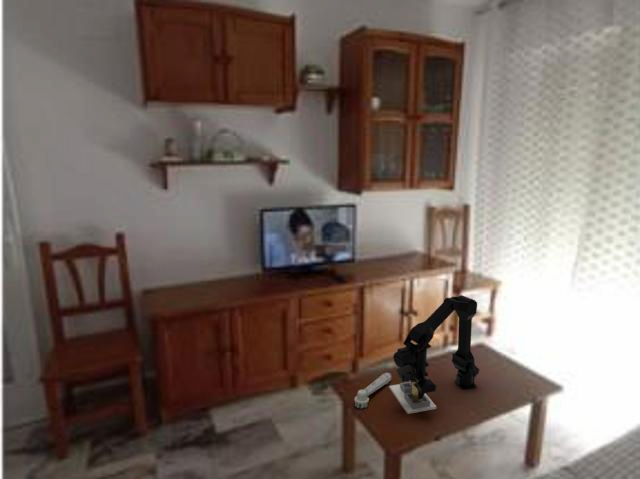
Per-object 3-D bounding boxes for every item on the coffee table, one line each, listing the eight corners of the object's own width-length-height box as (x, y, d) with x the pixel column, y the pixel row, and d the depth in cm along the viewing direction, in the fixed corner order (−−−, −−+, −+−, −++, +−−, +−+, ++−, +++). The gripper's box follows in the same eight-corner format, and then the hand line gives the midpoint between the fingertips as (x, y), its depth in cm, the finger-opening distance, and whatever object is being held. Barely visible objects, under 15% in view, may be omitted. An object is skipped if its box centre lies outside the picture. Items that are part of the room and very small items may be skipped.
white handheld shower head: (394, 373, 189) (364, 394, 169) (392, 388, 190) (362, 410, 170) (383, 370, 192) (352, 389, 172) (382, 384, 193) (351, 405, 173)
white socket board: (415, 383, 188) (415, 377, 187) (436, 408, 171) (436, 401, 170) (389, 388, 185) (389, 381, 184) (407, 413, 168) (407, 406, 167)
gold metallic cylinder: (419, 396, 176) (420, 378, 174) (424, 402, 172) (425, 384, 170) (409, 397, 175) (410, 379, 173) (414, 404, 171) (415, 385, 169)
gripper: (389, 350, 176) (388, 385, 180) (409, 375, 158) (408, 413, 162) (415, 347, 179) (414, 381, 182) (438, 370, 161) (436, 408, 165)
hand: (417, 395), depth 173 cm, fingers closed on gold metallic cylinder, 4 cm apart
